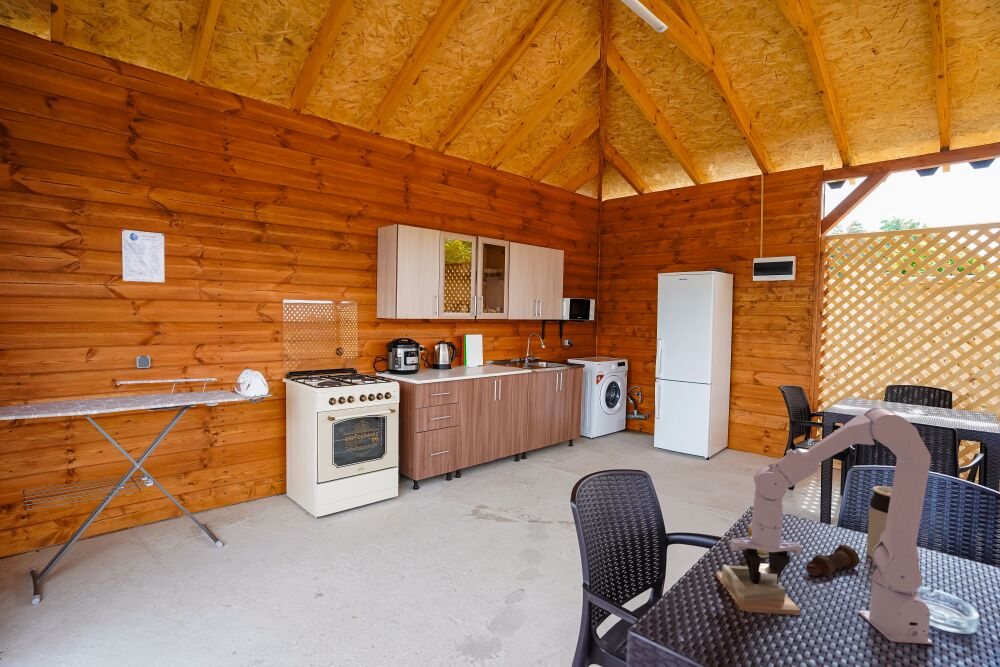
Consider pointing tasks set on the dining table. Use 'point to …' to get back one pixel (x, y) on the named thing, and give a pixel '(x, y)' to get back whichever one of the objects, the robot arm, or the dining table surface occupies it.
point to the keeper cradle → (755, 592)
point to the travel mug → (877, 515)
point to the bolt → (833, 561)
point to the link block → (766, 575)
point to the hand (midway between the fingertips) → (763, 582)
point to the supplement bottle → (760, 553)
